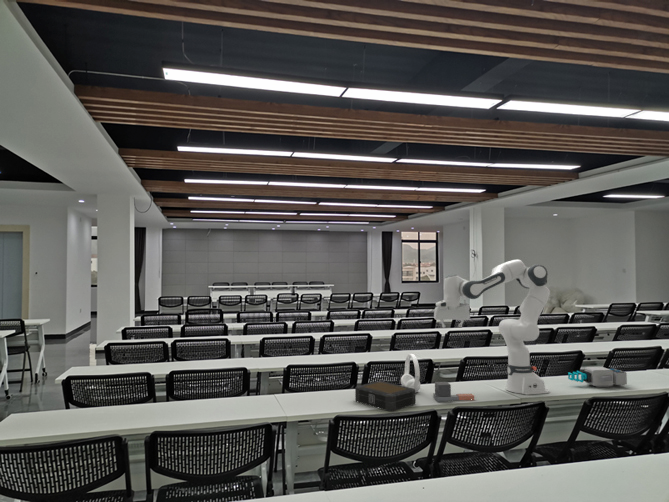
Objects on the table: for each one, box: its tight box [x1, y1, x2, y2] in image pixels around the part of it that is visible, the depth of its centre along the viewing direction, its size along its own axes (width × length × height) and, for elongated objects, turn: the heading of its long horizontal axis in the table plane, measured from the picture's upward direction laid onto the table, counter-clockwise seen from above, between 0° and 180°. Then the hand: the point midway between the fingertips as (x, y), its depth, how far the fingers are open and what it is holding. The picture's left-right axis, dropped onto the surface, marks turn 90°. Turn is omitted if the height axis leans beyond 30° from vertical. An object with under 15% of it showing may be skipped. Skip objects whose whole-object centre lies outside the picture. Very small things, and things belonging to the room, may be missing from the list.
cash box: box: [354, 380, 416, 412], centre depth 233 cm, size 25×20×8 cm
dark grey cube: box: [434, 381, 452, 397], centre depth 238 cm, size 6×6×6 cm
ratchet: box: [432, 392, 475, 403], centre depth 238 cm, size 20×8×8 cm, turn 94°
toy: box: [567, 366, 628, 388], centre depth 265 cm, size 16×10×30 cm
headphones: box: [400, 353, 421, 394], centre depth 258 cm, size 20×8×20 cm, turn 9°
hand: (452, 327), depth 263 cm, fingers open, 8 cm apart
